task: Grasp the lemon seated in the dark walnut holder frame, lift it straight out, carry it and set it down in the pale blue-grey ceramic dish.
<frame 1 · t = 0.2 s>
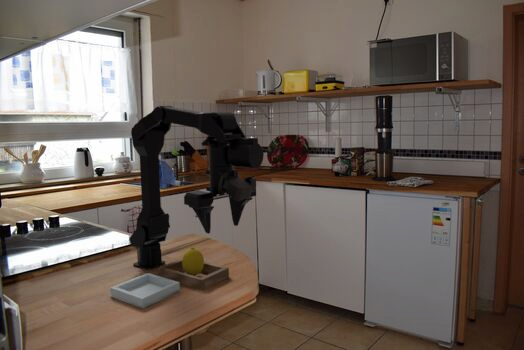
hand: (222, 229, 106), 14 cm above the counter, tool pointing down, fingers open, 9 cm apart
lemon: (193, 277, 113), resting in holder frame
dish: (145, 293, 103), on the counter
holder frame: (193, 277, 113), on the counter
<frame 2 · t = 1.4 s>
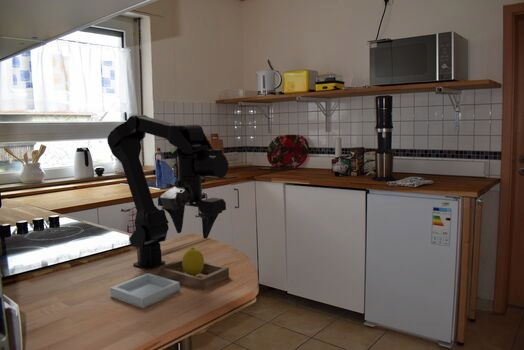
hand: (192, 235, 111), 11 cm above the counter, tool pointing down, fingers open, 9 cm apart
nothing on the counter moved.
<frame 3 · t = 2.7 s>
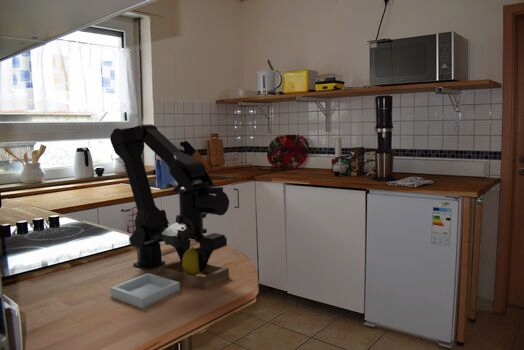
hand: (193, 269, 113), 2 cm above the counter, tool pointing down, fingers closed on lemon, 5 cm apart
lemon: (193, 277, 113), resting in holder frame, touching gripper
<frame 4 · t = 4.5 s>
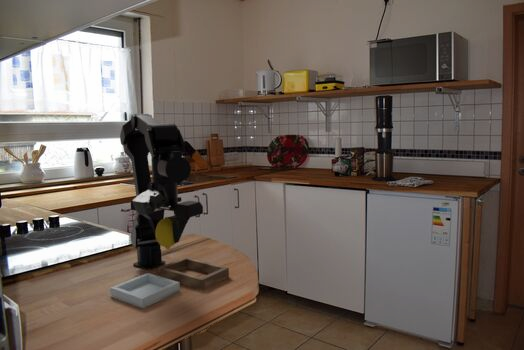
hand: (167, 240, 106), 11 cm above the counter, tool pointing down, fingers closed on lemon, 5 cm apart
lemon: (168, 249, 106), point 9 cm above the counter, touching gripper
when the fingers open (4 cm above the counter, at t = 6.5 s): lemon drops 1 cm, point 1 cm above the counter.
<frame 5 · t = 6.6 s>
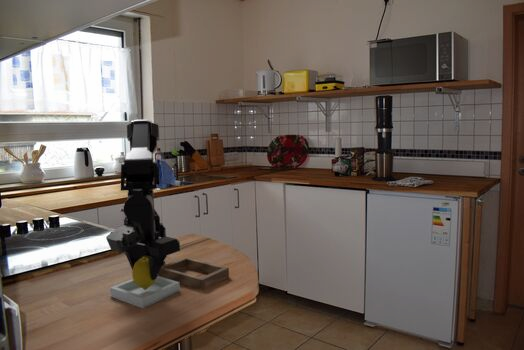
hand: (144, 276, 102), 4 cm above the counter, tool pointing down, fingers open, 6 cm apart
lemon: (145, 290, 103), point 1 cm above the counter
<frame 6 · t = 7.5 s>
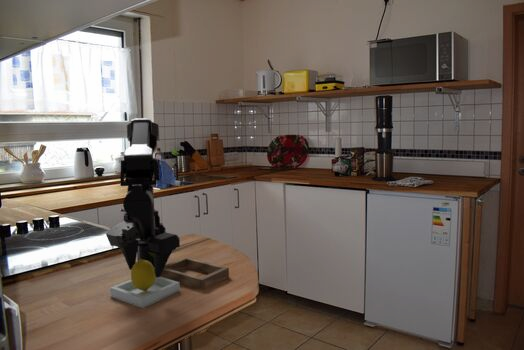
hand: (144, 273, 102), 5 cm above the counter, tool pointing down, fingers open, 9 cm apart
lemon: (145, 292, 103), resting on dish
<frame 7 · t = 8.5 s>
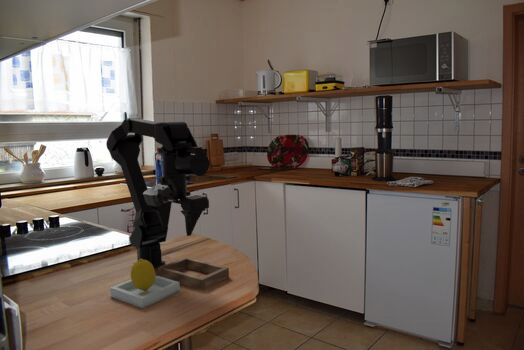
hand: (176, 232, 112), 12 cm above the counter, tool pointing down, fingers open, 9 cm apart
nothing on the counter moved.
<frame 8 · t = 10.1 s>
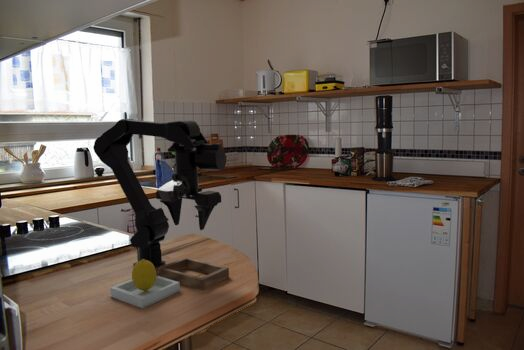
hand: (189, 227, 116), 12 cm above the counter, tool pointing down, fingers open, 9 cm apart
nothing on the counter moved.
at the end: lemon 0.1 cm from the dish (horizontally); lemon resting on dish; the gripper is holding nothing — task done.
